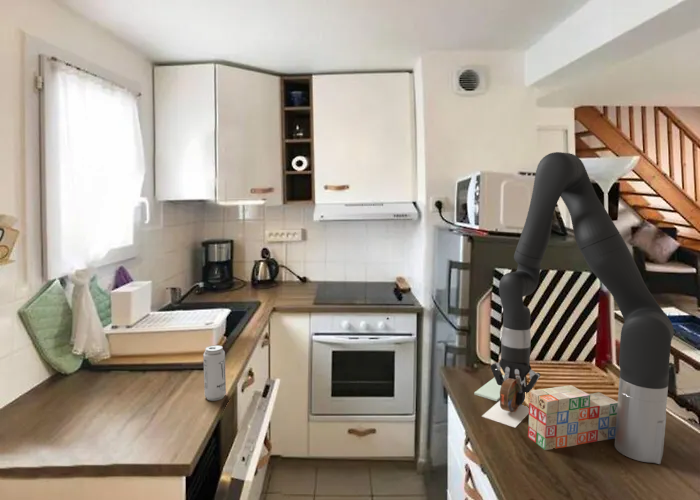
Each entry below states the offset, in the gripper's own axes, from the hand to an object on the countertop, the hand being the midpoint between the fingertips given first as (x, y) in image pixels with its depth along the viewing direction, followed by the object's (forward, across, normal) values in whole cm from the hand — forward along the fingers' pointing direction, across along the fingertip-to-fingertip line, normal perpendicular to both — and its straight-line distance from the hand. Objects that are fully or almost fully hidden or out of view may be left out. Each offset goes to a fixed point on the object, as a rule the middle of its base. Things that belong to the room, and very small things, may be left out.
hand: (513, 402), depth 122 cm
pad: (+2, +9, -11) cm, 14 cm away
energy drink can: (+1, +69, +51) cm, 86 cm away
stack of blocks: (+2, -17, +5) cm, 18 cm away
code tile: (+2, 0, 0) cm, 2 cm away
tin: (+1, 0, 0) cm, 1 cm away
